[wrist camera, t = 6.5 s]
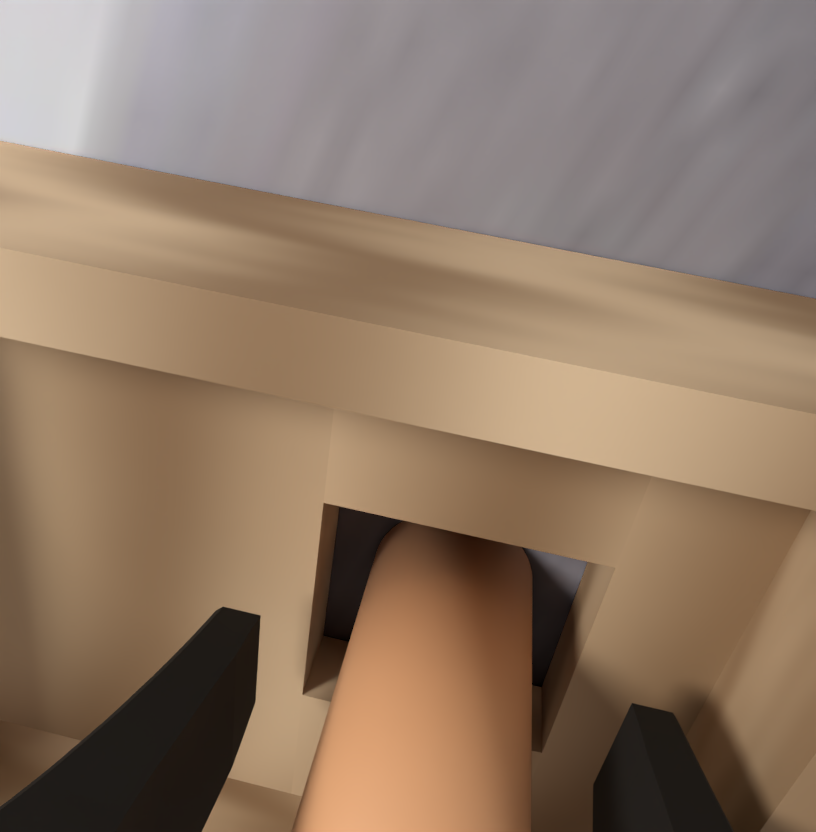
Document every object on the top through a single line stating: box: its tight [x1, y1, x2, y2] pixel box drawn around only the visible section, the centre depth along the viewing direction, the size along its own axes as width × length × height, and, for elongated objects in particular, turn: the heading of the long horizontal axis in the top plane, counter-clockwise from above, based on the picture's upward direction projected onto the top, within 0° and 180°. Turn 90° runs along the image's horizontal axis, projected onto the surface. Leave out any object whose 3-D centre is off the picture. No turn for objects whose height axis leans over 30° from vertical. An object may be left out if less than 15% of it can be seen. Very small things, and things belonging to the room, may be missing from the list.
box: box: [0, 141, 816, 832], centre depth 12 cm, size 16×13×4 cm
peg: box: [291, 521, 533, 832], centre depth 10 cm, size 3×3×8 cm
